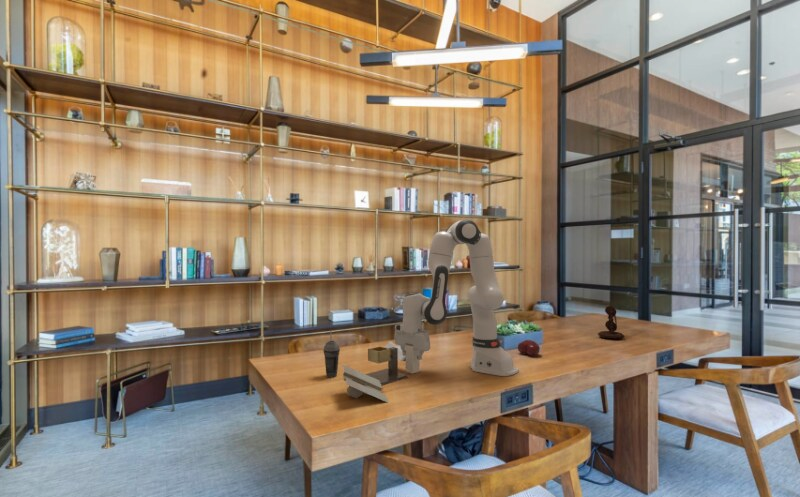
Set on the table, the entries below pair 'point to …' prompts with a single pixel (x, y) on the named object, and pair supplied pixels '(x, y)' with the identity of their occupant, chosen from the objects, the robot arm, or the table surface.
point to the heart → (529, 347)
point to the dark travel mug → (331, 358)
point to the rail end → (412, 359)
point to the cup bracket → (391, 356)
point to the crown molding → (398, 350)
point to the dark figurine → (611, 325)
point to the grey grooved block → (362, 384)
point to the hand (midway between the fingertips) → (411, 357)
